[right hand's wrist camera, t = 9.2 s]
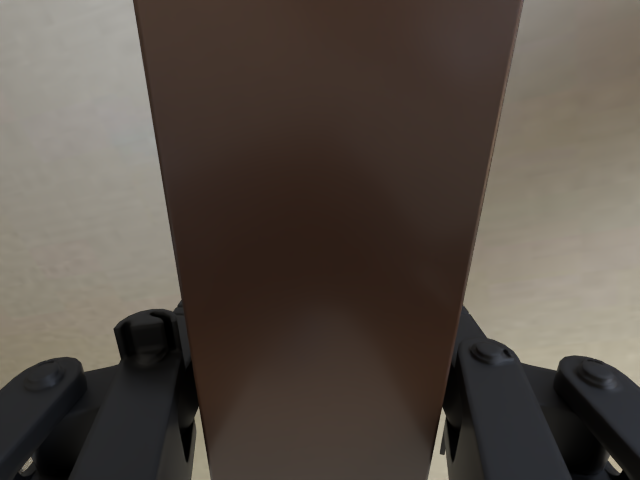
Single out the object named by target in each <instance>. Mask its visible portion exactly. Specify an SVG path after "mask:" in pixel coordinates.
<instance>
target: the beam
mask: <svg viewBox="0 0 640 480" xmlns="http://www.w3.org/2000/svg"><path fill="white" fill-rule="evenodd" d="M523 1H524V0H133V3H134V9H135V15H136V21H137V28H138V34H139V40H140V46H141V52H142V58H143V65H144V71H145V77H146V83H147V89H148V95H149V101H150V108H151V114H152V120H153V126H154V132H155V138H156V144H157V151H158V157H159V163H160V169H161V175H162V181H163V188H164V194H165V200H166V206H167V212H168V218H169V224H170V231H171V237H172V243H173V249H174V255H175V261H176V267H177V274H178V280H179V286H180V292H181V298H182V304H183V310H184V317H185V323H186V329H187V335H188V341H189V347H190V354H191V360H192V366H193V372H194V378H195V384H196V390H197V397H198V403H199V409H200V415H201V421H202V427H203V433H204V440H205V446H206V452H207V458H208V464H209V470H210V477H211V480H427V479H428V475H429V470H430V465H431V460H432V455H433V450H434V445H435V440H436V435H437V430H438V425H439V420H440V415H441V410H442V405H443V400H444V395H445V390H446V385H447V380H448V375H449V370H450V365H451V360H452V355H453V350H454V345H455V340H456V335H457V330H458V325H459V320H460V315H461V310H462V305H463V300H464V295H465V290H466V285H467V280H468V275H469V270H470V265H471V260H472V255H473V250H474V245H475V240H476V235H477V231H478V226H479V221H480V216H481V211H482V206H483V201H484V196H485V191H486V186H487V181H488V176H489V171H490V166H491V161H492V156H493V151H494V146H495V141H496V136H497V131H498V126H499V121H500V116H501V111H502V106H503V101H504V96H505V91H506V86H507V81H508V76H509V71H510V66H511V61H512V56H513V51H514V46H515V41H516V36H517V31H518V26H519V21H520V16H521V11H522V6H523Z"/></svg>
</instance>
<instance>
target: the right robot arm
mask: <svg viewBox="0 0 640 480" xmlns="http://www.w3.org/2000/svg"><path fill="white" fill-rule="evenodd" d="M114 333H115V337H116V341H117V345H118V349H119V353H120V356H121V361H120V363H119V364H118V365H115V366H111V367H106V368H102V369H97V370H92V371H87V372H84V371H83V367H82V364H81V362H80V361H78V360H77V359H76V358H70V357H61V358H54V359H49V360H47V361H43V362H40V363H38V364H36V365H34V366H32V367H30V368H28V369H26V370H24V371H23V372H22V373H20V374H19V375H17V376H16V377H15V378H13V379H12V380H11V381H10V382H9V383H8V384H7V385H6V386H4V387H3V388H2V389H1V390H0V480H191V476H192V467H193V458H194V449H195V440H196V426H195V420H194V417H195V414H196V412H197V409H198V407H199V403H198V397H197V390H196V384H195V378H194V372H193V366H192V360H191V354H190V347H189V341H188V335H187V329H186V323H185V317H184V310H183V304H182V300H181V301H180V303H179V304H178V307H177V308H175V310H174V311H173V312H172V311H169V310H165V309H150V310H146V311H141V312H138V313H135V314H133V315H130V316H128V317H127V318H125V319H123V320H122V321H120V322H119V323H118V324H117V325H116V326H115V328H114ZM442 407H443V409H444V412H445V414H446V420H445V425H444V431H443V437H442V443H441V449H440V454H442V455H444V454H445V449H446V458H447V467H448V476H449V480H640V387H639V386H637V385H636V384H635V383H634V382H633V381H632V380H631V379H629V378H628V377H627V376H626V375H624V374H623V373H622V372H620V371H619V370H617V369H616V368H614V367H612V366H610V365H608V364H606V363H604V362H602V361H600V360H597V359H593V358H589V357H584V356H575V355H574V356H568V357H564V358H563V359H562V360H561V361H560V362H559V365H558V369H557V371H555V370H551V369H546V368H541V367H536V366H532V365H528V364H524V363H521V362H520V360H519V358H518V357H517V355H516V354H515V353H514V351H512V350H511V349H510V348H508V347H507V346H506V345H504V344H502V343H500V342H497V341H495V340H492V339H488V338H487V337H486V336H485V334H484V333H483V332H482V330H481V329H480V327H479V326H478V325H477V323H476V322H475V320H474V319H473V318H472V316H471V315H470V314H469V312H468V311H467V309H466V308H465V307H464V306H463V305H462V310H461V315H460V320H459V325H458V330H457V335H456V340H455V345H454V350H453V355H452V360H451V365H450V370H449V375H448V380H447V385H446V390H445V395H444V400H443V405H442ZM610 455H611V456H612V458H613V459H614V460H615V461H616V462H617V463H618V465H619V466H620V467H621V468H622V469H623V470H622V472H621V473H619V472H618V471H617V470H616V469H615V468H614V467H613V466H612V465H611V464H610V463H609V461H608V458H609V456H610ZM30 457H32V460H33V462H32V464H31V465H30V466H29V467H28V469H27V470H25V471H24V472H23V473H21V471H20V469H21V468H22V467H23V465H24V464H25V463H26V462H27V461H28V459H29V458H30Z"/></svg>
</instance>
